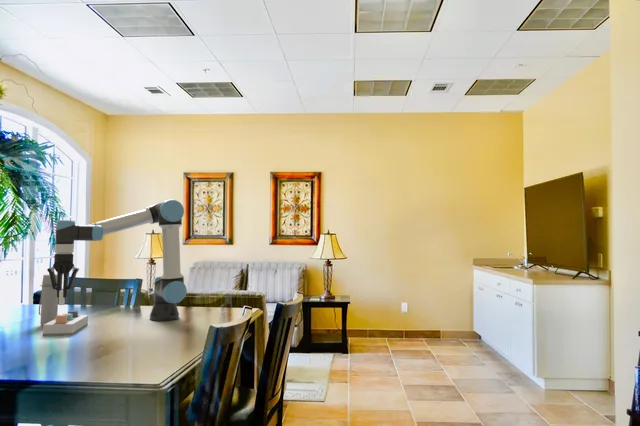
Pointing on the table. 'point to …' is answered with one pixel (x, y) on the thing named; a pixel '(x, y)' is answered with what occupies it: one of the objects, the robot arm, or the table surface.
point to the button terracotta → (61, 319)
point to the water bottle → (48, 301)
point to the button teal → (69, 317)
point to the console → (65, 326)
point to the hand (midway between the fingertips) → (61, 304)
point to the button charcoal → (74, 313)
